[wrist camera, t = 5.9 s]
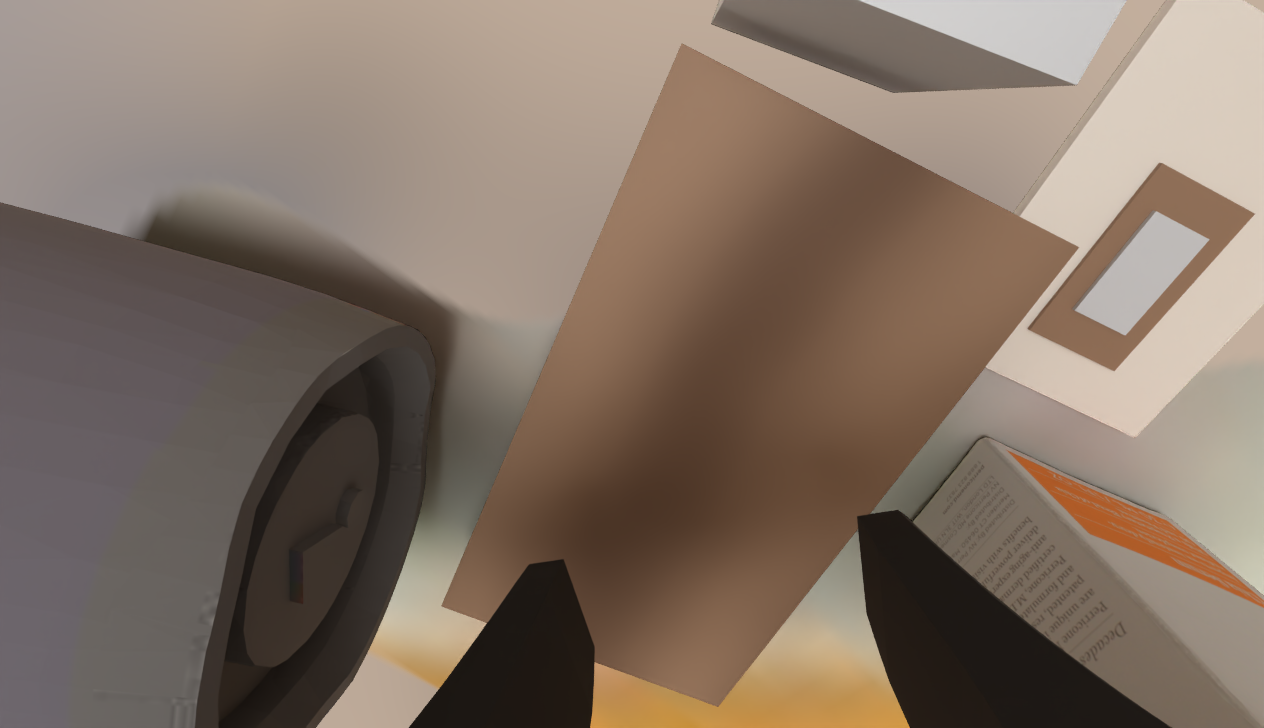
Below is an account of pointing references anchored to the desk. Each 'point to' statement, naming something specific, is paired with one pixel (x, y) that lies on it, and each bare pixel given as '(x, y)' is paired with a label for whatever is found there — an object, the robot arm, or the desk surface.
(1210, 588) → the skincare box
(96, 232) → the bluetooth speaker
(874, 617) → the robot arm
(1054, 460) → the desk surface
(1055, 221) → the cream rectangular panel
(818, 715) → the desk surface
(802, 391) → the base slab
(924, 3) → the brick
